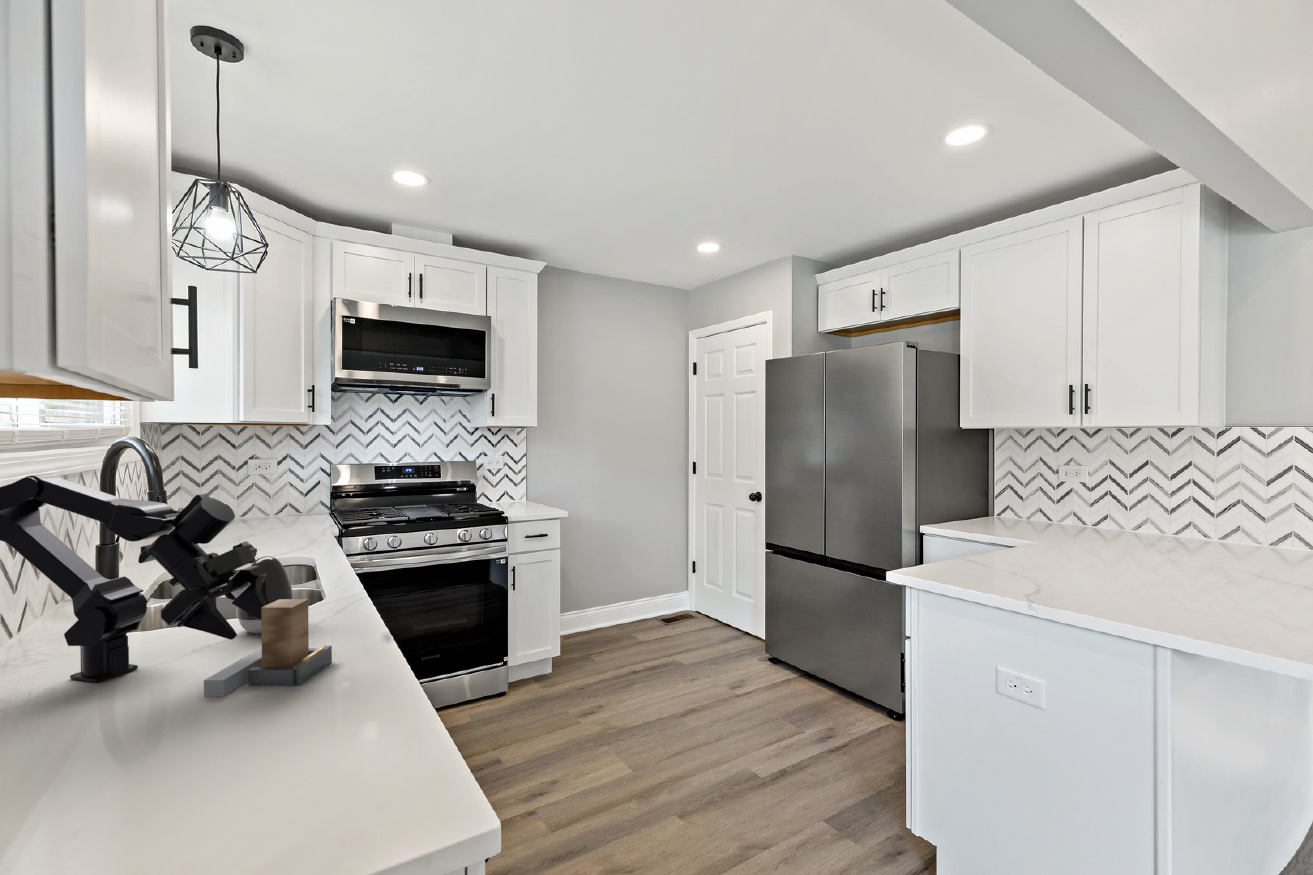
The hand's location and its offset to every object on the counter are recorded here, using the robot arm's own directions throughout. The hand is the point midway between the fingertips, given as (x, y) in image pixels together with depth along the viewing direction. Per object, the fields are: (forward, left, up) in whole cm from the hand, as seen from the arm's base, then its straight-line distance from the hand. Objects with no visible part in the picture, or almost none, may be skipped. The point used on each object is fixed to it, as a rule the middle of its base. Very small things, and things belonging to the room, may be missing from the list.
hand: (252, 628), depth 106 cm
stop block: (+5, +2, -8) cm, 9 cm away
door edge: (0, 0, -8) cm, 8 cm away
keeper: (+5, +2, -8) cm, 9 cm away
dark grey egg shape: (-18, +19, -8) cm, 27 cm away
